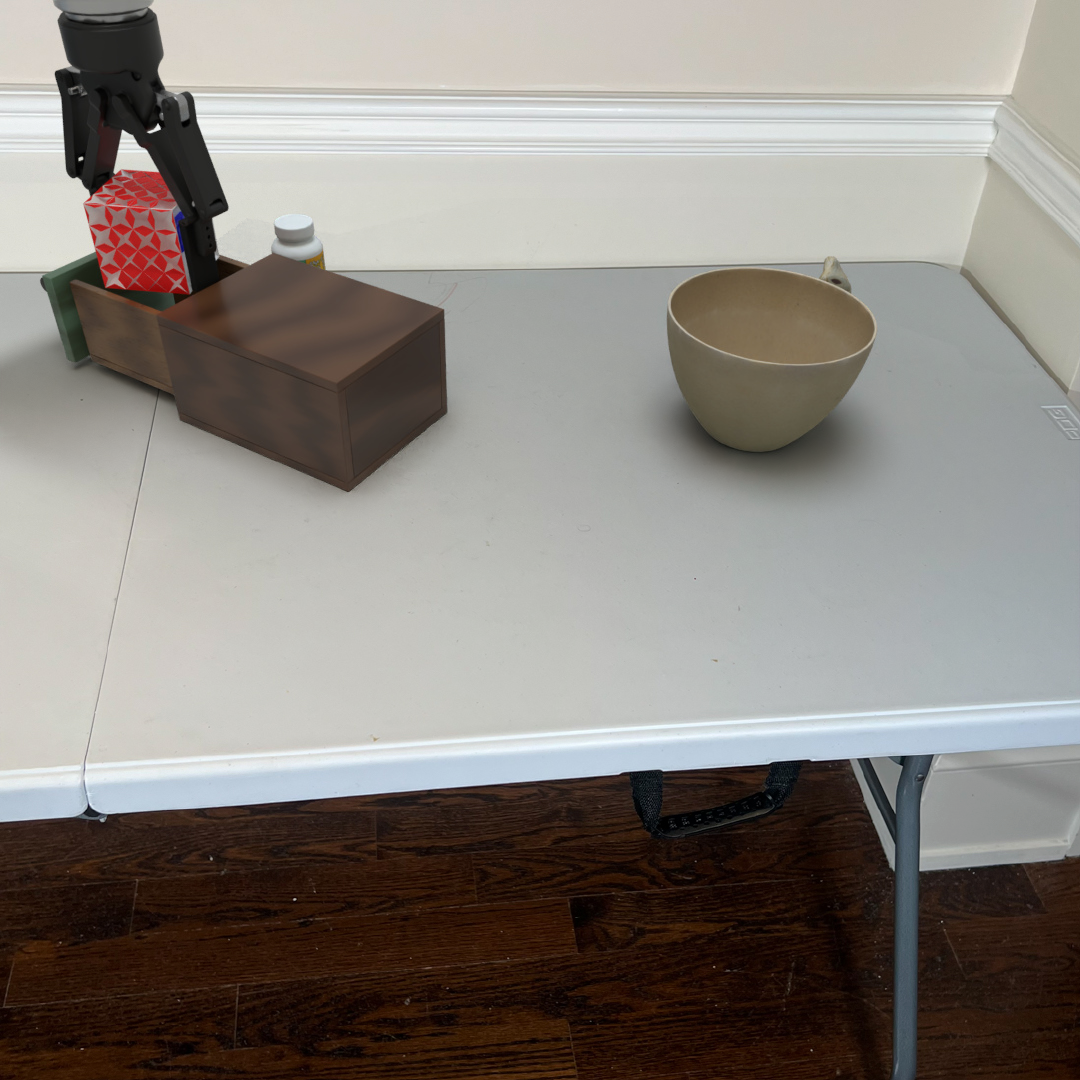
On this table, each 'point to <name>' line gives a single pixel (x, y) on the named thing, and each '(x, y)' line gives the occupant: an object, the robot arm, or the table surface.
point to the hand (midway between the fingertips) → (163, 270)
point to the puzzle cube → (139, 234)
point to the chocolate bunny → (835, 274)
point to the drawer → (114, 319)
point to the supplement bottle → (298, 240)
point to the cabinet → (307, 367)
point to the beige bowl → (765, 352)
